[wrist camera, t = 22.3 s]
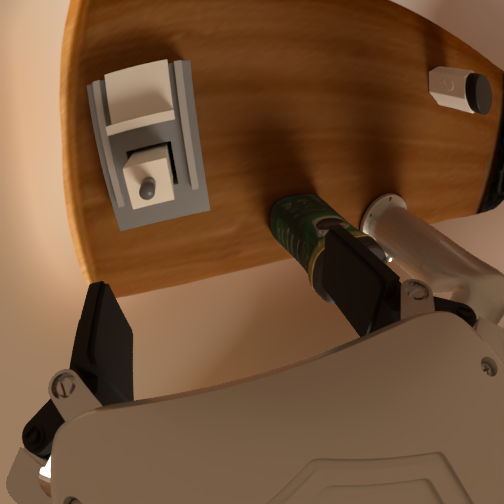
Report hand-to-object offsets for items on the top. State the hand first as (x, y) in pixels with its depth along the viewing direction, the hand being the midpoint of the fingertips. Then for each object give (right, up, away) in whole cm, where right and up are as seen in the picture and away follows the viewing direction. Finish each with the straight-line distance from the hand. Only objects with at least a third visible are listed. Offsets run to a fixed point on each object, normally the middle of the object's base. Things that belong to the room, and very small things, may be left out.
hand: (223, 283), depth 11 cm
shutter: (-11, +18, +13) cm, 25 cm away
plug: (-12, +14, +22) cm, 29 cm away
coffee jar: (+8, +7, +33) cm, 35 cm away
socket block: (-12, +16, +21) cm, 29 cm away
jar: (+40, +36, +26) cm, 60 cm away
